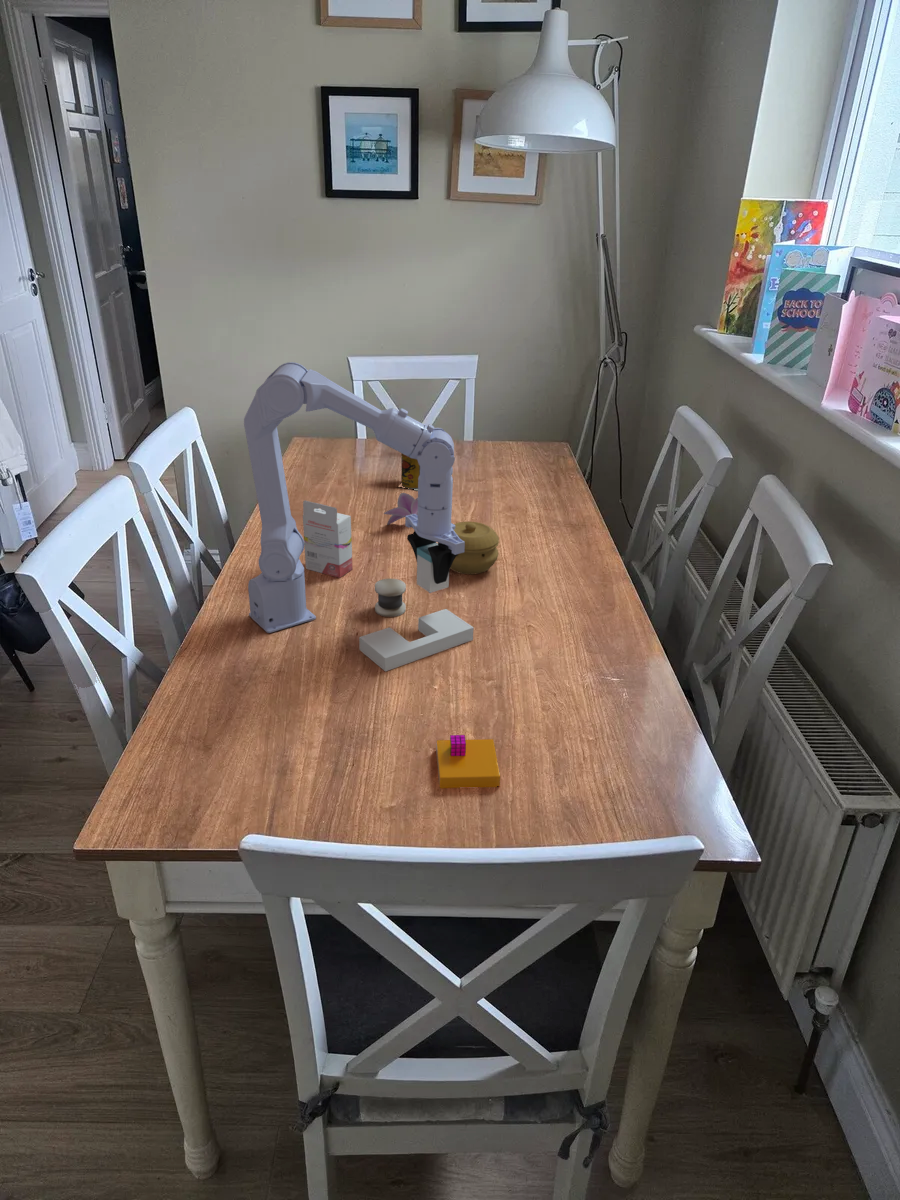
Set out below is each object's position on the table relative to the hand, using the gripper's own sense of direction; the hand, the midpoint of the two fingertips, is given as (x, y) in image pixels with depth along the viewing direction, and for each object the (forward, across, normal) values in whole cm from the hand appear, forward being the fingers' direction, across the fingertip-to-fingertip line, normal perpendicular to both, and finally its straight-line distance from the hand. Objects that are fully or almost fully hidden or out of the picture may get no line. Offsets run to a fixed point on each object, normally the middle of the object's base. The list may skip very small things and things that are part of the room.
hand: (432, 576), depth 141 cm
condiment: (+9, +60, -38) cm, 72 cm away
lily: (+9, +37, -21) cm, 44 cm away
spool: (+9, +8, +4) cm, 12 cm away
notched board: (+9, -5, +7) cm, 12 cm away
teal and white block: (+2, 0, 0) cm, 2 cm away
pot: (+9, +14, -19) cm, 25 cm away
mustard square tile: (+10, -36, +20) cm, 42 cm away
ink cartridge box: (+9, +29, +5) cm, 30 cm away
